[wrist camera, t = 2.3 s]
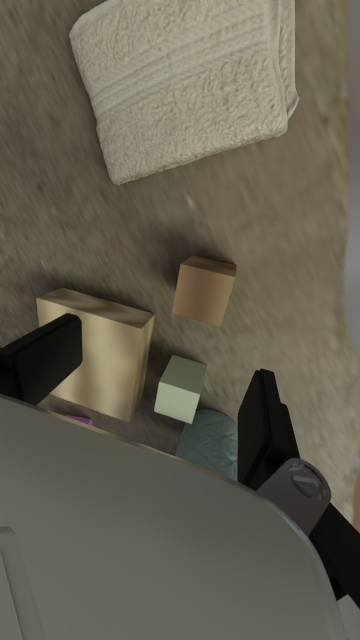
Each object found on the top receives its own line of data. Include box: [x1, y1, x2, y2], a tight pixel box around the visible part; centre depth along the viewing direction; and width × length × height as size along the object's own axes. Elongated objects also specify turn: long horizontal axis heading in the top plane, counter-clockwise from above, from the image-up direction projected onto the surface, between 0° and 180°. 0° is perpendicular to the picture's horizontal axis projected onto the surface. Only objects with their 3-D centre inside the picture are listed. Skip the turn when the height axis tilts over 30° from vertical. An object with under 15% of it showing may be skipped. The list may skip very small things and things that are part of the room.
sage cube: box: [154, 355, 207, 424], centre depth 30 cm, size 5×5×6 cm
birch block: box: [36, 288, 155, 423], centre depth 32 cm, size 14×16×5 cm
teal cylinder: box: [175, 410, 238, 481], centre depth 30 cm, size 10×10×12 cm
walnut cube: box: [172, 255, 236, 327], centre depth 23 cm, size 5×5×6 cm
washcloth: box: [69, 0, 300, 186], centre depth 19 cm, size 12×18×3 cm, turn 103°
